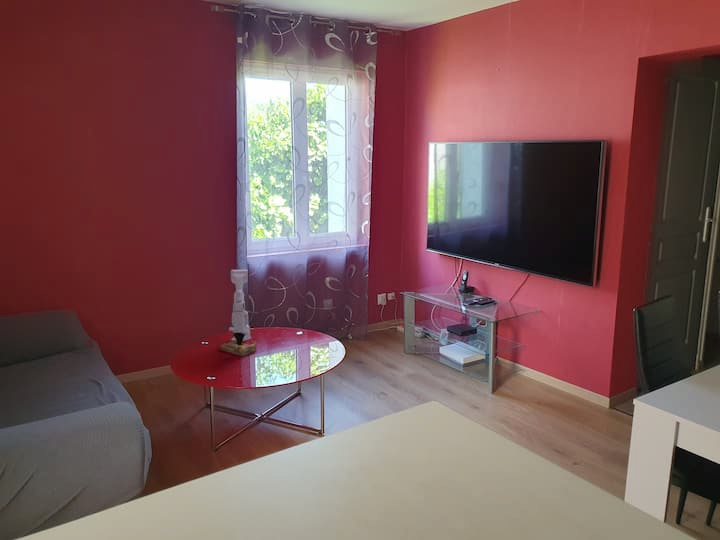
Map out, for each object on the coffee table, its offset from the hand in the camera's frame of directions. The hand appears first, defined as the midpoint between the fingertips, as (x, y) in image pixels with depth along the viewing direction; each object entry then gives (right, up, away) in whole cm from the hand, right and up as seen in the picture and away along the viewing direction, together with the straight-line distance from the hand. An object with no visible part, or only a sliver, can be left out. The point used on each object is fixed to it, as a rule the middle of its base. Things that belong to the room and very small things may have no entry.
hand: (239, 344), depth 325 cm
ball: (+2, -2, -1) cm, 3 cm away
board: (-1, -3, +1) cm, 4 cm away
